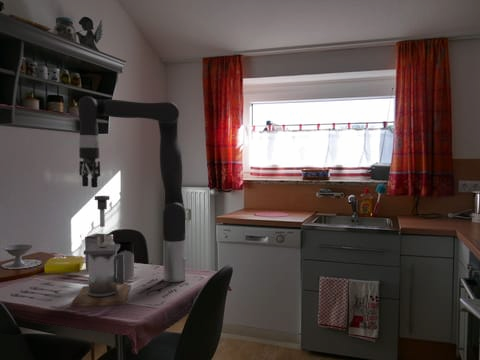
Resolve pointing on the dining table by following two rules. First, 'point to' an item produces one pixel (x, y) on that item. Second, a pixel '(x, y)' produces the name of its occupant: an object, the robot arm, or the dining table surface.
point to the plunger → (102, 208)
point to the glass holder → (126, 260)
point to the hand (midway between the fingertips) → (89, 186)
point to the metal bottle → (108, 239)
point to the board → (116, 299)
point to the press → (104, 269)
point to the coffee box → (92, 240)
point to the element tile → (64, 265)
